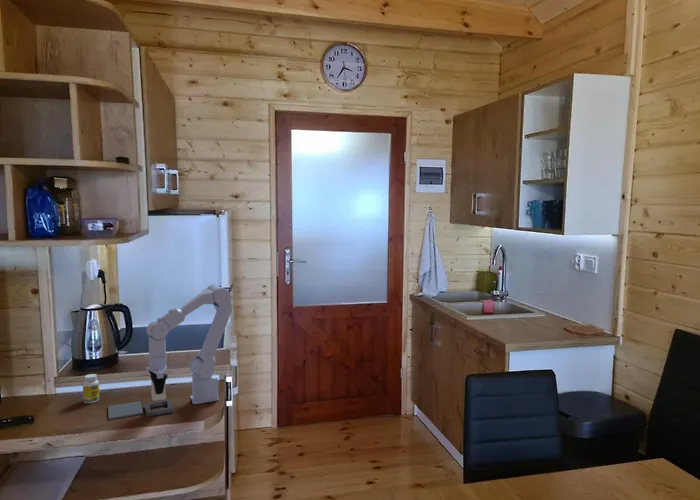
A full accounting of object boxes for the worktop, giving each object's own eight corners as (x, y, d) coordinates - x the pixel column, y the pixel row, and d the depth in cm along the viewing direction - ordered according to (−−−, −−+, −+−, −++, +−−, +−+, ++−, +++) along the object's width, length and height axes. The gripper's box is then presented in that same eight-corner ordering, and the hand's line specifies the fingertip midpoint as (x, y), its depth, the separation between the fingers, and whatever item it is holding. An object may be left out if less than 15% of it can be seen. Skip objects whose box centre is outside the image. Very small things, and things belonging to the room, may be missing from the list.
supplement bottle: (92, 404, 184) (91, 378, 183) (80, 402, 185) (78, 377, 184) (102, 398, 189) (101, 373, 188) (90, 397, 190) (89, 372, 189)
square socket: (170, 402, 186) (170, 399, 186) (173, 412, 178) (173, 408, 178) (144, 407, 182) (144, 403, 182) (146, 417, 174) (146, 412, 174)
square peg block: (164, 394, 182) (164, 376, 182) (165, 398, 179) (165, 380, 178) (151, 396, 180) (151, 377, 180) (152, 400, 177) (152, 382, 176)
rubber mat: (140, 402, 186) (140, 401, 186) (143, 414, 176) (142, 412, 176) (108, 407, 181) (108, 406, 181) (108, 419, 171) (108, 418, 171)
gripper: (143, 350, 182) (145, 385, 184) (147, 362, 170) (148, 400, 171) (164, 348, 186) (165, 383, 187) (169, 359, 173) (170, 397, 174)
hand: (158, 391), depth 179 cm, fingers closed on square peg block, 4 cm apart
